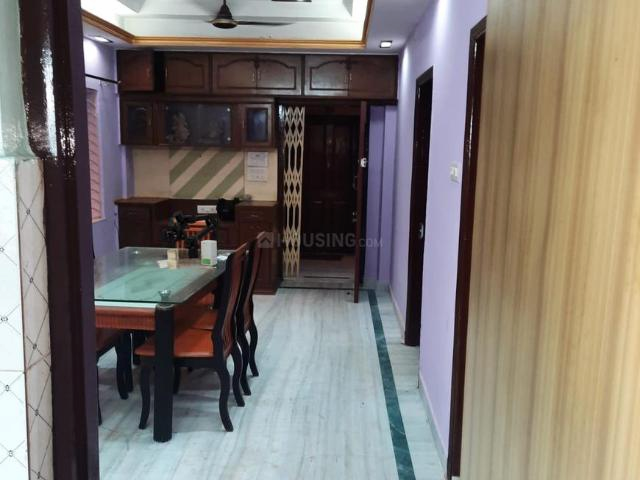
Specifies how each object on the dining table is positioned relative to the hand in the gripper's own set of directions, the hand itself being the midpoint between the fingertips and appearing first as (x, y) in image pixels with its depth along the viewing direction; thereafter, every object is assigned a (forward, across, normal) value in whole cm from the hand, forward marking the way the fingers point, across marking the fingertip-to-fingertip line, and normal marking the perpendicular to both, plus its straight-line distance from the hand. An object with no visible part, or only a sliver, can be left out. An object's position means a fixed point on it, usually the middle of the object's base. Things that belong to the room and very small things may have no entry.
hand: (167, 242), depth 363 cm
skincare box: (-1, +27, +18) cm, 32 cm away
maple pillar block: (+14, +12, +9) cm, 21 cm away
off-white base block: (+12, +3, +10) cm, 16 cm away
